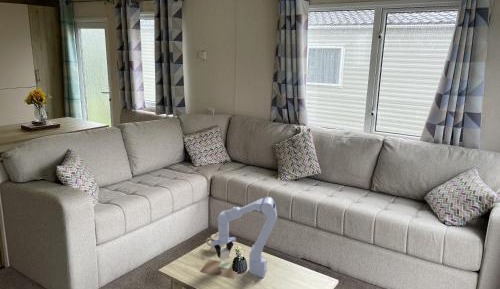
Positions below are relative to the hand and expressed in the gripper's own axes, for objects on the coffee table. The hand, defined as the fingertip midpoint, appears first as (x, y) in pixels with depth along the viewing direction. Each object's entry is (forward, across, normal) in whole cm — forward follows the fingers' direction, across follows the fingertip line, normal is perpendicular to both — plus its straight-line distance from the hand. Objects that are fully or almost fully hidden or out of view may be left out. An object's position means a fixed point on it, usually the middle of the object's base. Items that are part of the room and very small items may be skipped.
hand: (223, 255), depth 222 cm
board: (+9, +2, 0) cm, 9 cm away
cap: (+1, 0, 0) cm, 1 cm away
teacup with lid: (+9, -5, -22) cm, 24 cm away
